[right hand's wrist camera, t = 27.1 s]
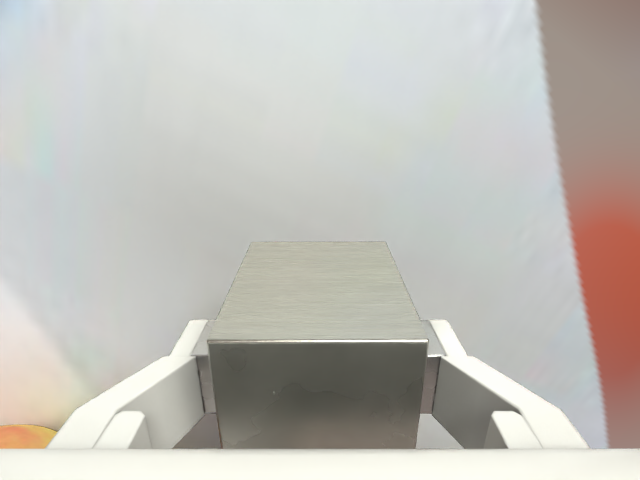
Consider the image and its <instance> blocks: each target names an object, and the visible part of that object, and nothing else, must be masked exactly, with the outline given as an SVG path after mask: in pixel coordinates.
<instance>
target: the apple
mask: <svg viewBox="0 0 640 480" xmlns="http://www.w3.org/2000/svg"><path fill="white" fill-rule="evenodd" d="M56 433H57V431H54V430H52V429H49V428H45V427H41V426H35V425H4V426H0V449H45V447H46V446H47V445H48V444H49V442H50V441H51V440H52V438H53V437H54V436H55V435H56Z"/></svg>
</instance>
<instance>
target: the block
mask: <svg viewBox="0 0 640 480" xmlns="http://www.w3.org/2000/svg"><path fill="white" fill-rule="evenodd" d="M206 344H207V351H208V358H209V365H210V372H211V379H212V386H213V393H214V400H215V407H216V414H217V421H218V428H219V435H220V442H221V449H415V447H416V440H417V432H418V424H419V417H420V409H421V402H422V394H423V386H424V379H425V371H426V364H427V356H428V348H429V339H428V336H427V334H426V332H425V330H424V327H423V325H422V323H421V321H420V318H419V316H418V314H417V311H416V309H415V307H414V305H413V302H412V300H411V298H410V296H409V293H408V291H407V289H406V287H405V284H404V282H403V280H402V278H401V275H400V273H399V271H398V268H397V266H396V264H395V262H394V259H393V257H392V255H391V253H390V250H389V248H388V246H387V244H386V242H251V244H250V246H249V248H248V250H247V253H246V255H245V257H244V259H243V261H242V264H241V266H240V268H239V270H238V272H237V275H236V277H235V279H234V281H233V283H232V286H231V288H230V290H229V292H228V294H227V297H226V299H225V301H224V303H223V305H222V308H221V310H220V312H219V314H218V316H217V319H216V321H215V323H214V325H213V327H212V330H211V332H210V334H209V336H208V338H207V341H206Z"/></svg>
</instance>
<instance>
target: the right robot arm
mask: <svg viewBox="0 0 640 480" xmlns="http://www.w3.org/2000/svg"><path fill="white" fill-rule="evenodd" d="M215 321H216V320H191V321H189V322H188V324H187V326H186V327H185V329H184V331H183V333H182V334H181V336H180V338H179V339H178V341H177V343H176V345H175V346H174V348H173V350H172V352H171V353H170V355H169V356H163V357H161V358H160V359H158V360H156V361H155V362H153V363H151V364H150V365H148V366H146V367H145V368H143V369H141V370H140V371H138V372H136V373H135V374H133V375H131V376H130V377H128V378H126V379H125V380H123V381H121V382H120V383H118V384H116V385H115V386H113V387H111V388H110V389H108V390H106V391H105V392H103V393H101V394H100V395H98V396H96V397H95V398H93V399H91V400H90V401H88V402H86V403H85V404H83V405H81V406H80V407H78V408H76V409H75V410H74V411H73V413H72V414H71V415H70V417H69V418H68V419H67V420H66V422H65V423H64V424H63V426H62V427H61V428H60V429H59V431H58V432H57V433H56V435H55V436H54V437H53V438H52V440H51V441H50V442H49V444H48V445H47V446H46V447H45V449H0V480H640V449H591V448H590V447H589V446H588V444H587V443H586V442H585V440H584V439H583V438H582V436H581V435H580V434H579V432H578V431H577V430H576V429H575V427H574V426H573V425H572V423H571V422H570V421H569V419H568V418H567V417H566V415H565V414H564V413H563V411H562V410H561V409H559V408H557V407H556V406H554V405H553V404H551V403H549V402H548V401H546V400H544V399H543V398H541V397H539V396H538V395H536V394H534V393H533V392H531V391H530V390H528V389H526V388H525V387H523V386H521V385H520V384H518V383H516V382H515V381H513V380H511V379H510V378H508V377H507V376H505V375H503V374H502V373H500V372H498V371H497V370H495V369H493V368H492V367H490V366H488V365H487V364H485V363H484V362H482V361H480V360H479V359H477V358H475V357H474V356H467V354H466V352H465V350H464V349H463V347H462V345H461V343H460V342H459V340H458V338H457V336H456V335H455V333H454V331H453V329H452V328H451V326H450V324H449V323H448V321H447V320H445V319H439V320H420V321H421V323H422V325H423V327H424V330H425V332H426V334H427V336H428V339H429V348H428V356H427V364H426V371H425V379H424V386H423V394H422V402H421V409H420V413H427V414H432V416H433V417H434V418H435V419H436V420H437V421H438V422H439V423H440V424H441V425H442V426H443V427H444V428H445V429H446V430H447V431H448V432H449V433H450V434H451V435H452V436H453V437H454V438H455V439H456V440H457V441H458V442H459V443H460V444H461V446H462V447H463V448H464V449H172V448H173V447H174V446H175V445H176V444H177V443H178V442H179V441H180V440H181V439H182V438H183V437H184V436H185V435H186V434H187V433H188V432H189V431H190V430H191V429H192V428H193V427H194V426H195V425H196V424H197V423H198V422H199V421H200V420H201V419H202V418H203V417H204V416H205V414H210V413H216V407H215V400H214V393H213V386H212V379H211V372H210V365H209V358H208V351H207V344H206V341H207V338H208V336H209V334H210V332H211V330H212V327H213V325H214V323H215Z"/></svg>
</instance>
